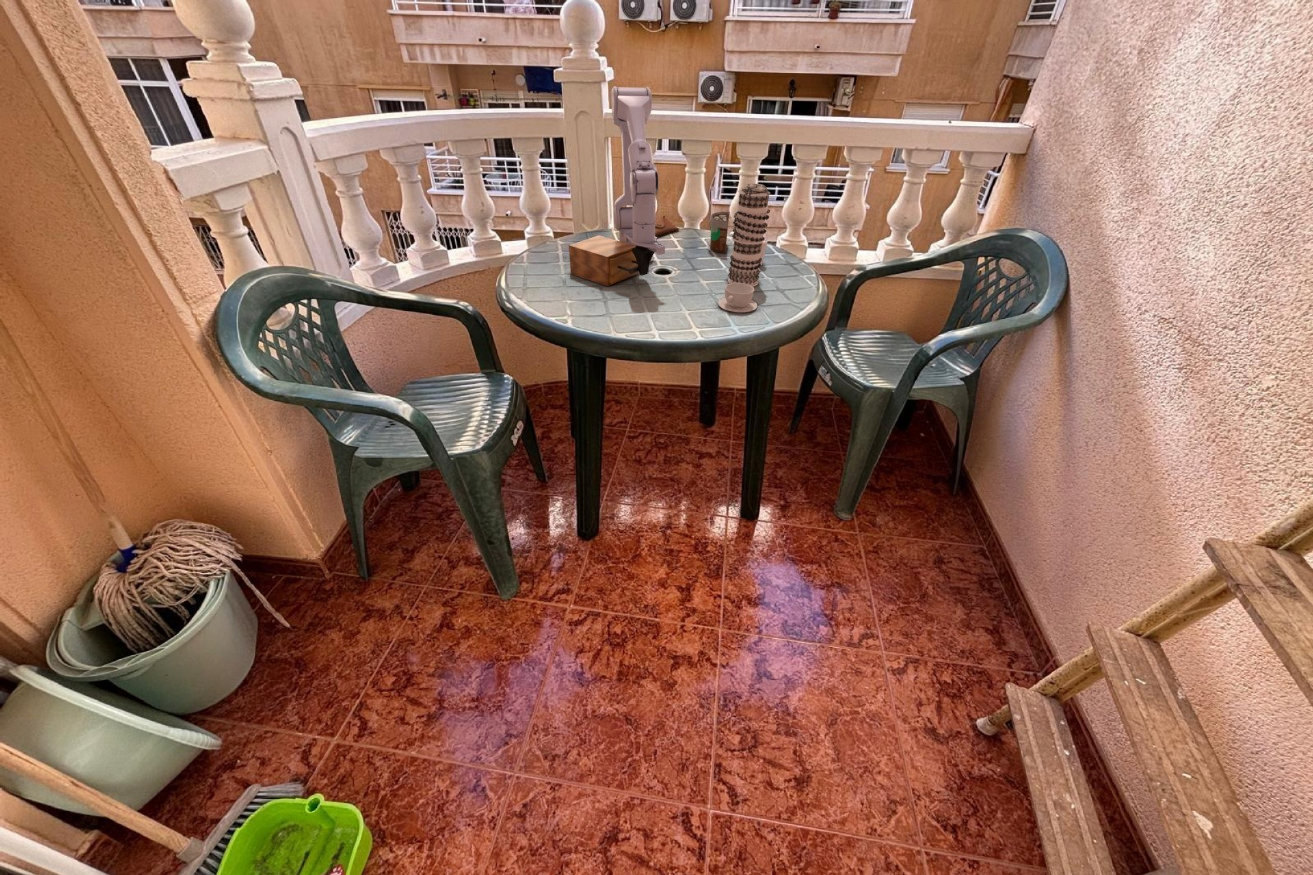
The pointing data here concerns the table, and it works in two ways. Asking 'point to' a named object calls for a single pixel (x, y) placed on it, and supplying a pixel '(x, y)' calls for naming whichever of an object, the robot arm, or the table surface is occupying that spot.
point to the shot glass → (763, 250)
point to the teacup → (738, 298)
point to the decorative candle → (749, 234)
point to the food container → (719, 231)
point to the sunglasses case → (664, 226)
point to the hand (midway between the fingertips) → (643, 274)
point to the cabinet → (595, 257)
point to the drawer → (622, 266)
